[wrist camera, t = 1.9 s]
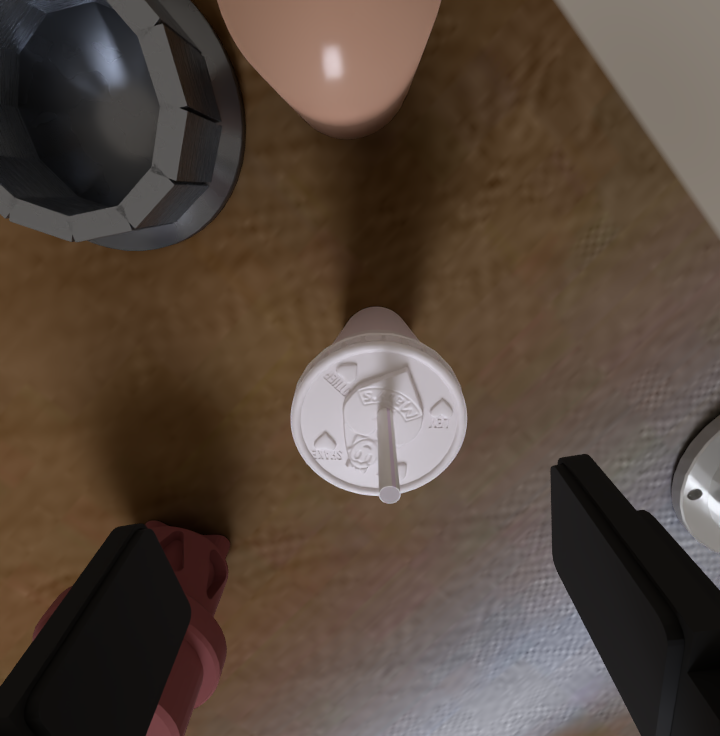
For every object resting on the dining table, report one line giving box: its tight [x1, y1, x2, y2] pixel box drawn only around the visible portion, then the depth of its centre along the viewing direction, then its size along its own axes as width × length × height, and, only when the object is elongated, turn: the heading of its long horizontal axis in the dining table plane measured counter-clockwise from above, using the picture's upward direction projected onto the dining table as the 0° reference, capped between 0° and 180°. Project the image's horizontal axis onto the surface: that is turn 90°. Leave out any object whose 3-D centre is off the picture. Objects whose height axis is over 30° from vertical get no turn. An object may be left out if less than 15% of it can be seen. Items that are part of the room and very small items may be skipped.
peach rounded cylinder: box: [217, 0, 441, 139], centre depth 15 cm, size 6×6×9 cm
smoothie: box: [291, 307, 467, 504], centre depth 18 cm, size 6×6×14 cm
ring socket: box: [0, 0, 246, 251], centre depth 18 cm, size 12×12×5 cm
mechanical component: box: [32, 521, 230, 736], centre depth 25 cm, size 12×10×10 cm
